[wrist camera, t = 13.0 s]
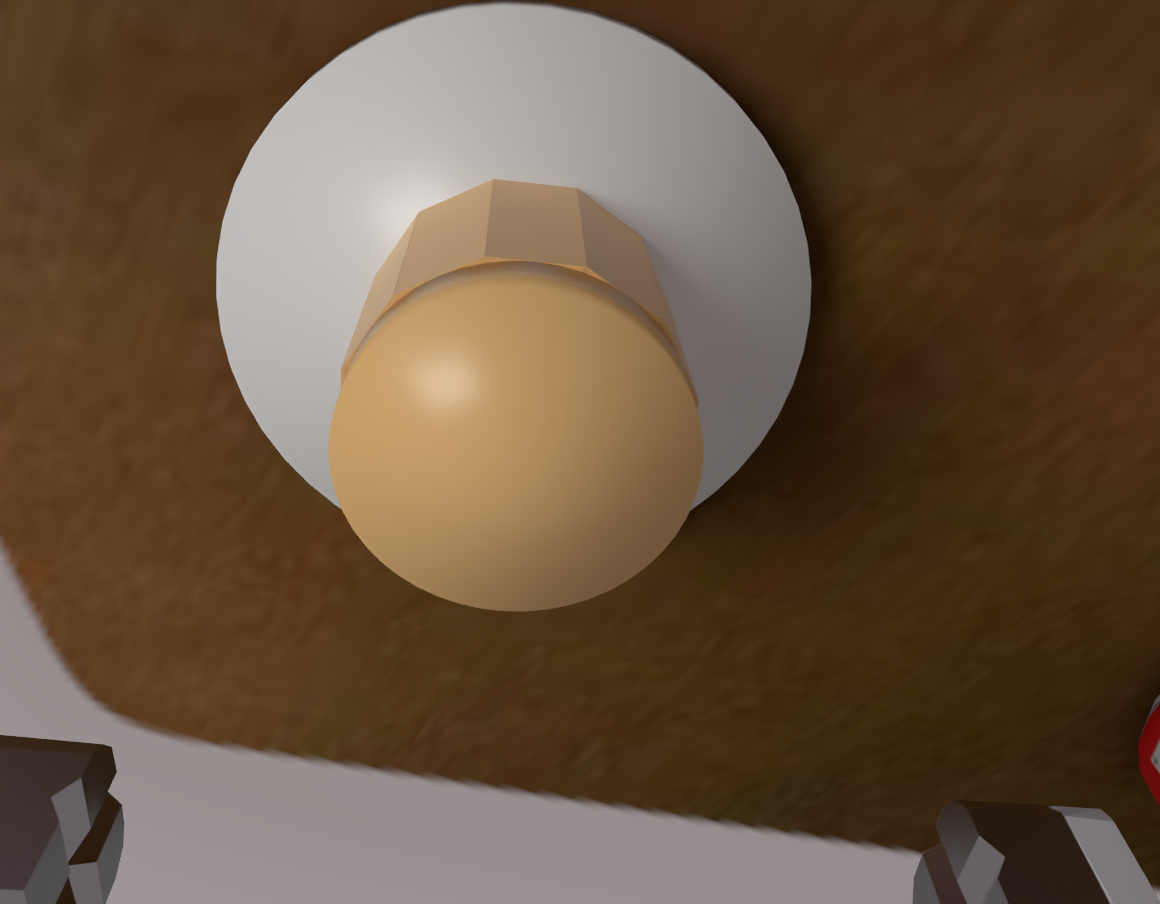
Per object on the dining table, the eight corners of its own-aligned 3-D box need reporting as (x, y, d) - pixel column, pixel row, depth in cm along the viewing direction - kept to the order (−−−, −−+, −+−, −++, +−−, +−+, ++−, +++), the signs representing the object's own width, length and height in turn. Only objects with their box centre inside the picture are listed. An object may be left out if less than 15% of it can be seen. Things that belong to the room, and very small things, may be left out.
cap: (687, 199, 20) (736, 310, 15) (641, 461, 23) (670, 622, 18) (377, 166, 19) (327, 268, 15) (371, 439, 22) (327, 599, 18)
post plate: (863, 41, 19) (946, 88, 16) (739, 555, 25) (776, 682, 22) (212, -41, 18) (126, -11, 14) (241, 518, 24) (186, 644, 20)
